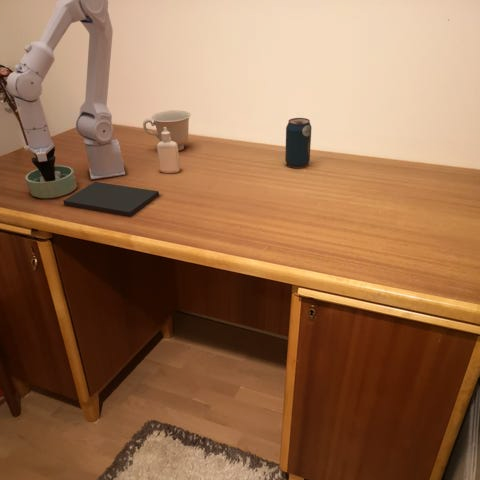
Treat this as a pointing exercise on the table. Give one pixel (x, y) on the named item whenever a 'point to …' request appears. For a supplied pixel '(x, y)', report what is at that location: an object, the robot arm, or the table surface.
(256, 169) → the table surface
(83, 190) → the desk pad
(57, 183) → the bowl
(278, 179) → the table surface
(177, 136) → the teacup
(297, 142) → the soda can
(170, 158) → the eye dropper bottle
